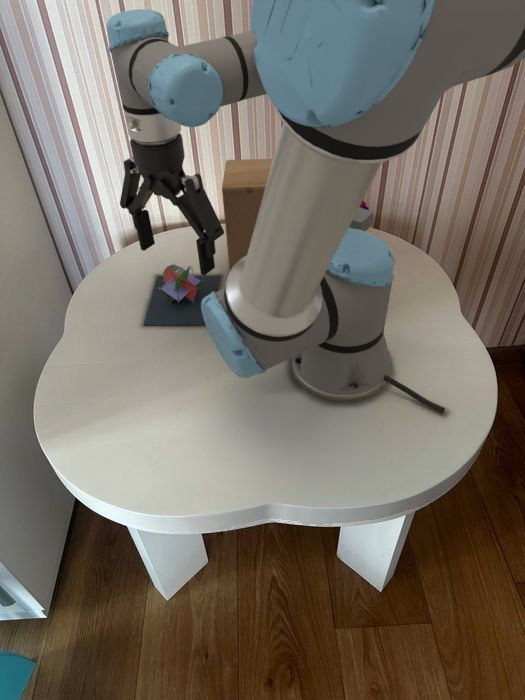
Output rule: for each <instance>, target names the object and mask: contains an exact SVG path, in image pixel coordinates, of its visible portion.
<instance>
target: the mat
mask: <svg viewBox="0 0 525 700" xmlns="http://www.w3.org/2000/svg"><path fill="white" fill-rule="evenodd" d="M193 276H194V277H196V278H197V279H199V280H201V281H200V282H199V283H200V284H199V283H198V284H197V285H196V287H197V286H198V289H197V293H196V296H195V299H194V303H193V302H192V301H191V300H189V299H188V298H187V297H185V296H184V297H185V298H184V297H183V298H182V300H181V301H179V302H186V303H174V302H178V301H177V300H175V299H174V300H173V301H172V302H173V303H170V302H171V299H172V297H171V296H169V295H168V294H167V293H165V292H164V291H162V290H160V289H159V288H160V286H161V285H162V286H163V285H164V283H165V282H164V283H163V281H164V279H163V275H156V279H155V282H154V286H153V288H152V289H153V290H152V293H151V297H150V299H149V303H148V308H147V310H146V315H145V319H144V321H143V326H145V327H149V326H150V327H152V326H153V327H156V326H161V327H163V326H164V327H167V326H170V327H171V326H172V327H174V326H176V327H177V326H178V327H179V326H180V327H181V326H183V327H184V326H185V327H187V326H188V327H190V326H191V327H195V326H196V327H197V326H199V327H200V326H201V327H204V326H205V327H206V324H205V321H204V318H203V315H202V311H201V302H202V300H203V298H204V297H206V296H208V295H209V294H211V292H214V291H215V292H218V291H219V285H220V279H221V275H205V276H204V275H193ZM162 280H163V281H162ZM161 283H162V284H161ZM162 286H161V287H162ZM163 293H164V294H163ZM168 296H169V297H168ZM169 299H170V300H169Z"/></svg>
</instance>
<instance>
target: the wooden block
mask: <svg viewBox="0 0 525 700" xmlns="http://www.w3.org/2000/svg"><path fill="white" fill-rule="evenodd" d="M272 161H273V158H253V159H252V158H249V159H247V158H246V159H226V161H225V163H224V164H225V165H224V171H223V179H222V183H221V184H222V187H221V194H222V205H223V214H224V223H225V224H224V226H225V235H226V247H227V257H228V268H229V272H230V271H231V269H232V268H233V266H234V265H235V264H236V263H237V262H238V261H239V260H240V259H242V258H243V257H245V256H246V255H247V253H248V250H249V246H250V242H251V239H252V235H253V231H254V228H255V224H256V220H257V217H258V213H259V209H260V206H261V202H262V198H263V195H264V191H265V187H266V184H267V180H268V176H269V173H270V169H271V165H272Z"/></svg>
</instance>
